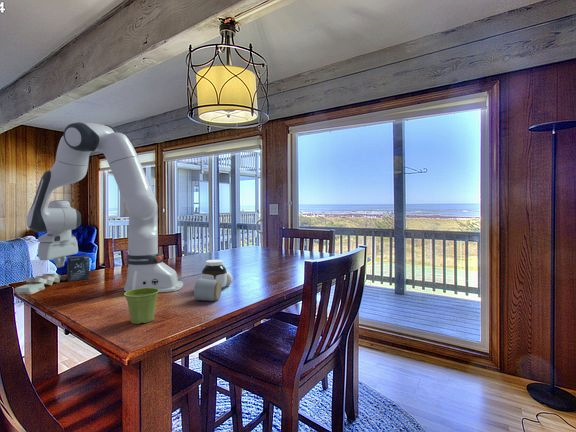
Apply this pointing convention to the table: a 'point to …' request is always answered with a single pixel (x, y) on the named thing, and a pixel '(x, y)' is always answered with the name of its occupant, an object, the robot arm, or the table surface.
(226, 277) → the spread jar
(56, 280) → the domino
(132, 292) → the plant pot
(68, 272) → the box
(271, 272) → the table surface
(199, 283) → the ceramic mug
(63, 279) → the end domino
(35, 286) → the domino
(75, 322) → the table surface
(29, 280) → the domino
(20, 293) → the domino
